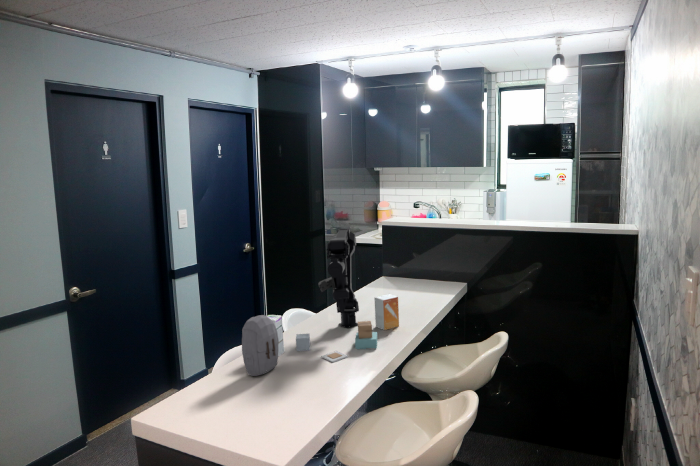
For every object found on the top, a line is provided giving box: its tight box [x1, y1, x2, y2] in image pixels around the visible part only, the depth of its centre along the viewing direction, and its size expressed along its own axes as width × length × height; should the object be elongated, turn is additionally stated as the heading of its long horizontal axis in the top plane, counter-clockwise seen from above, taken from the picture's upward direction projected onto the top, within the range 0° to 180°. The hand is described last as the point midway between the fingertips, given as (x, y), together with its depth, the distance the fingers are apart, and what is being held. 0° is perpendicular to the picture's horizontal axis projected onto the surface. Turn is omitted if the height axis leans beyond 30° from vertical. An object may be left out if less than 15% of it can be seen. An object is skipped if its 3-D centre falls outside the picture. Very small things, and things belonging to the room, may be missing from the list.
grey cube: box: [295, 332, 311, 352], centre depth 196 cm, size 5×5×5 cm
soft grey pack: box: [241, 314, 279, 377], centre depth 174 cm, size 15×8×20 cm, turn 150°
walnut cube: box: [357, 320, 373, 339], centre depth 195 cm, size 5×5×5 cm
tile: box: [321, 350, 349, 363], centre depth 186 cm, size 7×7×1 cm
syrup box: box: [266, 314, 285, 358], centre depth 191 cm, size 6×6×14 cm
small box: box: [374, 293, 400, 331], centre depth 215 cm, size 8×6×13 cm
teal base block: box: [354, 331, 378, 350], centre depth 196 cm, size 8×8×4 cm
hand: (341, 309), depth 203 cm, fingers open, 9 cm apart
